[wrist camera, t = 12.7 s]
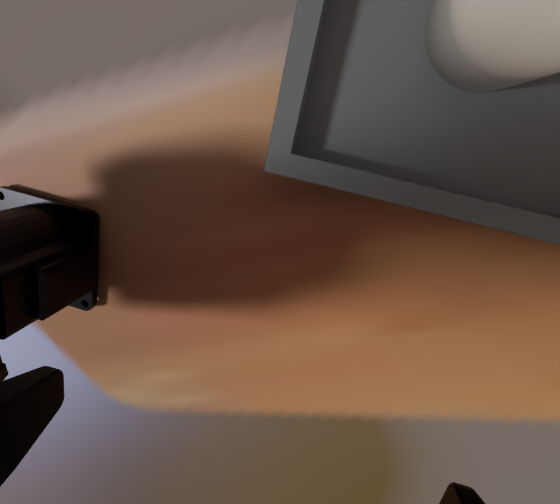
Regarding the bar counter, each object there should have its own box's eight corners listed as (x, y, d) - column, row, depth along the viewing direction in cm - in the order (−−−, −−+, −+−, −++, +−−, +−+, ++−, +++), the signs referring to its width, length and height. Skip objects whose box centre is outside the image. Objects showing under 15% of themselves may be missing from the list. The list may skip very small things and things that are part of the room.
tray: (272, 166, 18) (263, 170, 16) (360, -259, 12) (362, -329, 10) (586, 244, 16) (617, 259, 14) (837, -202, 11) (939, -273, 9)
